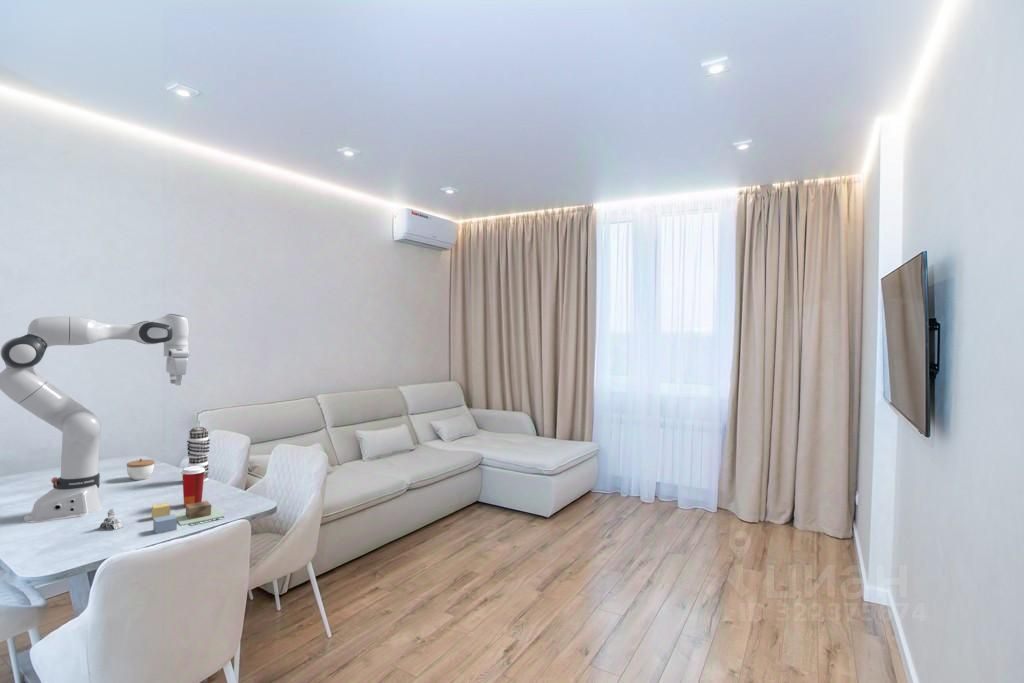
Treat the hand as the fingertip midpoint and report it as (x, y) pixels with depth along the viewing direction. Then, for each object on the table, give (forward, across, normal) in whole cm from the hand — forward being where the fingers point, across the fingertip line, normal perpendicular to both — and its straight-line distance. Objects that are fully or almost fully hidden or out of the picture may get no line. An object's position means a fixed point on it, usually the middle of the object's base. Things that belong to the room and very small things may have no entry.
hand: (175, 384), depth 216 cm
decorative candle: (+48, -19, +14) cm, 54 cm away
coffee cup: (+48, +18, +3) cm, 52 cm away
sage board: (+48, +36, +1) cm, 60 cm away
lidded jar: (+48, -40, -6) cm, 63 cm away
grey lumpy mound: (+48, +29, -22) cm, 61 cm away
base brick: (+47, +36, +1) cm, 59 cm away
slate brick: (+48, +44, -11) cm, 66 cm away
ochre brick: (+48, +28, -9) cm, 56 cm away
